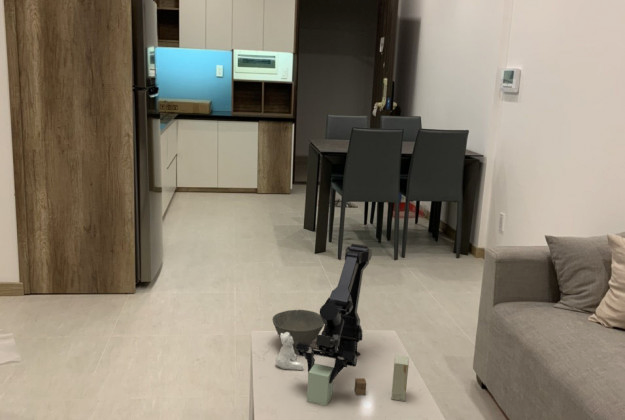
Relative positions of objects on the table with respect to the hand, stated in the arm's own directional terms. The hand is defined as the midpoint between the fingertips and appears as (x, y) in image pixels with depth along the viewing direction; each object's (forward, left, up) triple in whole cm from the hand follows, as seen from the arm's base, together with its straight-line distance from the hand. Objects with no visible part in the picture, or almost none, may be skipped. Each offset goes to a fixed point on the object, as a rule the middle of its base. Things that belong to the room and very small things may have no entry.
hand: (319, 381), depth 186 cm
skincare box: (-23, +11, -7) cm, 27 cm away
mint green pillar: (-1, -1, -7) cm, 7 cm away
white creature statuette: (-5, -23, -7) cm, 24 cm away
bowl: (-17, -34, -7) cm, 39 cm away
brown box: (-14, +3, -7) cm, 16 cm away
